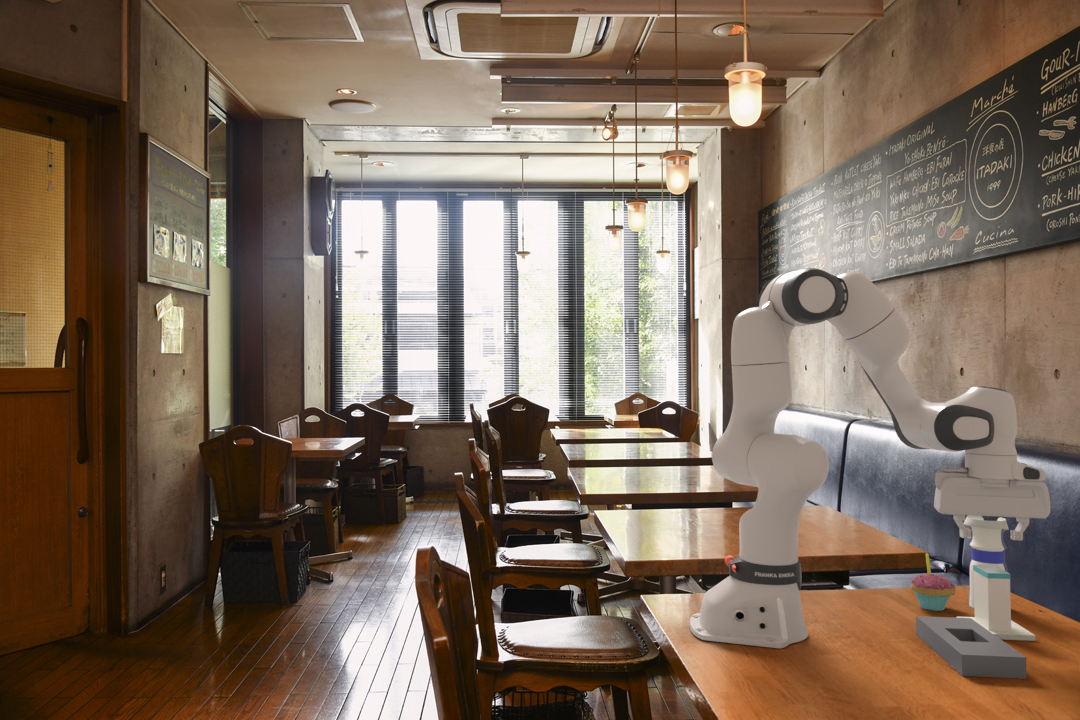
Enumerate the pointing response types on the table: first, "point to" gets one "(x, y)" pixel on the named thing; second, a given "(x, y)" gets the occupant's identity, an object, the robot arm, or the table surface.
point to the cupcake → (932, 589)
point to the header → (971, 647)
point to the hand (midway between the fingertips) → (990, 538)
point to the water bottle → (985, 546)
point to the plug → (992, 598)
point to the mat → (1011, 632)
